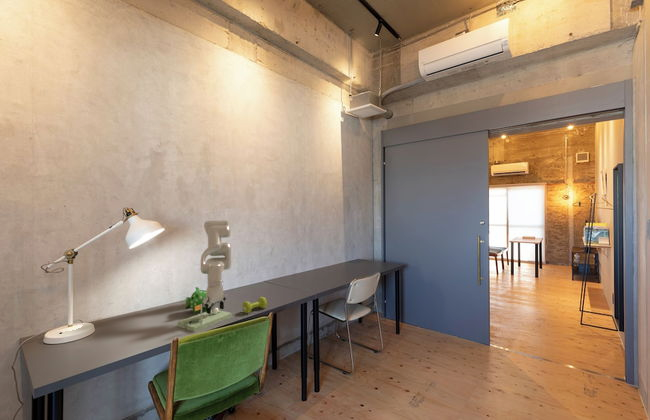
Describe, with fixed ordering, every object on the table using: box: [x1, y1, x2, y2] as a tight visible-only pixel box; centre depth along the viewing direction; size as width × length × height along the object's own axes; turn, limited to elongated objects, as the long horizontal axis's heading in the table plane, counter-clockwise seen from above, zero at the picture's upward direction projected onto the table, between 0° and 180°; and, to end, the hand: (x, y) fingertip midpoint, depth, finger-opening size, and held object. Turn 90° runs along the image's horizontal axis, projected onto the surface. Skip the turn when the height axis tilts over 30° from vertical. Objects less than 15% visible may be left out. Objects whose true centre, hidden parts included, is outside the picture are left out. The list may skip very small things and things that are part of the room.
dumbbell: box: [241, 296, 268, 314], centre depth 198 cm, size 16×8×7 cm, turn 139°
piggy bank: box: [185, 286, 216, 315], centre depth 196 cm, size 14×18×15 cm
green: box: [176, 304, 233, 333], centre depth 178 cm, size 16×26×14 cm, turn 149°
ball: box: [211, 306, 220, 314], centre depth 184 cm, size 4×4×4 cm
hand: (215, 311), depth 183 cm, fingers open, 9 cm apart
